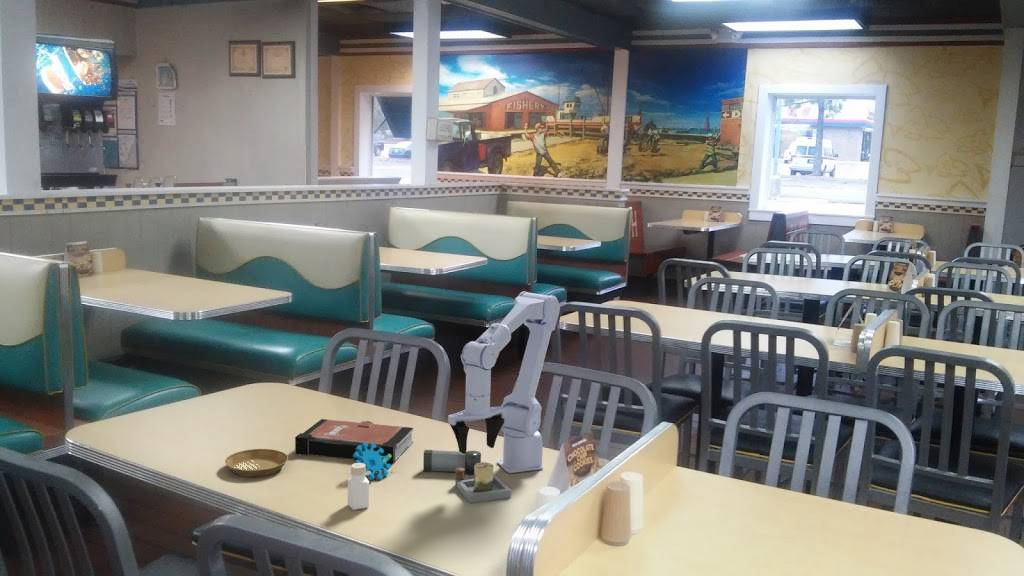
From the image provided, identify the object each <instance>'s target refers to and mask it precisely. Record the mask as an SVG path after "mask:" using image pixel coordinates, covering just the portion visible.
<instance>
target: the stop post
mask: <svg viewBox="0 0 1024 576" xmlns="http://www.w3.org/2000/svg"><path fill="white" fill-rule="evenodd" d="M455 471H456V472H455V482H454V483H455V484H454V485H455V487H456V488H457V481H461V480H465V472H464V471H465V469H464V468H456V469H455Z"/></svg>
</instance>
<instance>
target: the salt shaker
mask: <svg viewBox="0 0 1024 576" xmlns="http://www.w3.org/2000/svg"><path fill="white" fill-rule="evenodd" d="M366 474H367V471H366V465H365V464H363V463H355V462H354V463H352V464H351V465H350V475H351V476H350V477H349V478H348V479H347V505H348V507H350V508H351V510H353V511H356V510H361V509H368V508H369V506H370V480H369V478H368V477H366Z"/></svg>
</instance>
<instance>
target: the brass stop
mask: <svg viewBox="0 0 1024 576" xmlns="http://www.w3.org/2000/svg"><path fill="white" fill-rule="evenodd" d="M493 476H494V465H493V464H492V463H490V462H484V461H483V462H482V461H481V463H477V464H475V465H474V474H473V479H474V492H475V493H479V492H486V491H493Z"/></svg>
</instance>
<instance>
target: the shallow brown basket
mask: <svg viewBox="0 0 1024 576" xmlns="http://www.w3.org/2000/svg"><path fill="white" fill-rule="evenodd" d="M251 460H253V461H254V462H255V463H254V462H252V461H251ZM288 460H289V456H288V454H286V453H285V452H283V451H280V450H278V449H270V448H254V449H253V448H252V449H246V450H241V451H237V452H235V453H232V454H229V456H227V457H226V458H225V460H224V463H225V465H226V466H227V468H229V469H230V470H231V471H232V472H233V473H234V474H236V475H238V474H239V475H238V476H241V475H242V477H248V476H249V477H251V478H252V477H254V478H256V476H257V477H263V476H268V475H272V474H274V473H277V472H278V471H279V470H280V469H282V468H283V467H284V465H285V464H286V463H287V461H288ZM243 462H244V463H246V464H247V465H250V464H249V463H251V464H254V465H255V466H256V467H257V469H256V468H254V467H253V466H251V465H250V466H251V467H252V468H253V470H252V469H250V468H249V467H247V466H246V467H247V470H246V469H244V468H243V467H242V470H241V469H239V468H237V466H236V465H238V466H239V463H240V464H241V463H242V464H243ZM247 462H249V463H247ZM256 464H258V465H259V466H260V467H259V466H258V465H256ZM244 465H245V464H244ZM234 467H236V468H234ZM240 467H241V465H240Z"/></svg>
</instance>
